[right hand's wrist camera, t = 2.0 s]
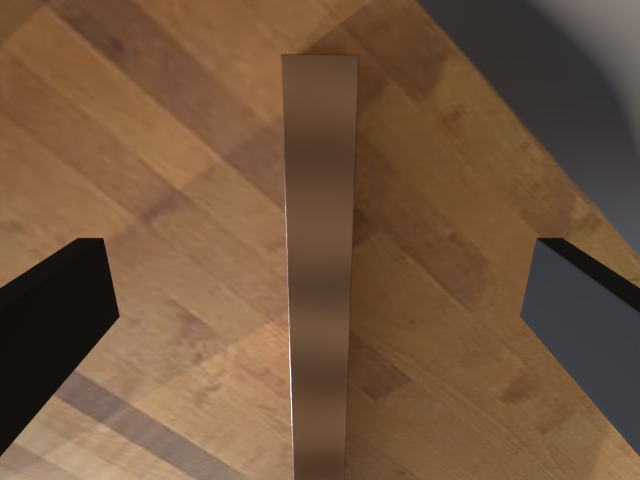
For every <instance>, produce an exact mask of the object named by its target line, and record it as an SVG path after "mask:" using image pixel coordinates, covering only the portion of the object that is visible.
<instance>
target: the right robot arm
mask: <svg viewBox="0 0 640 480" xmlns="http://www.w3.org/2000/svg"><path fill="white" fill-rule="evenodd" d="M119 317H120V316H119V311H118V306H117V302H116V297H115V292H114V287H113V282H112V278H111V273H110V268H109V263H108V259H107V254H106V249H105V244H104V240H103V238H77V239H76V240H74V241H73V242H71V243H69V244H68V245H66V246H65V247H63V248H62V249H60V250H59V251H57V252H56V253H54V254H52V255H51V256H49V257H48V258H46V259H45V260H43V261H42V262H40V263H39V264H37V265H35V266H34V267H32V268H31V269H29V270H28V271H26V272H25V273H23V274H22V275H20V276H18V277H17V278H15V279H14V280H12V281H11V282H9V283H8V284H6V285H5V286H3V287H1V288H0V456H1V455H2V454H3V453H4V452H5V451H6V449H7V448H8V447H9V446H10V445H11V443H12V442H13V441H14V440H15V439H16V438H17V436H18V435H19V434H20V433H21V432H22V431H23V429H24V428H25V427H26V426H27V425H28V424H29V422H30V421H31V420H32V419H33V418H34V416H35V415H36V414H37V413H38V412H39V411H40V409H41V408H42V407H43V406H44V405H45V404H46V402H47V401H48V400H49V399H50V398H51V397H52V395H53V394H54V393H55V392H56V391H57V390H58V388H59V387H60V386H61V385H62V384H63V382H64V381H65V380H66V379H67V378H68V377H69V375H70V374H71V373H72V372H73V371H74V370H75V368H76V367H77V366H78V365H79V364H80V363H81V361H82V360H83V359H84V358H85V357H86V355H87V354H88V353H89V352H90V351H91V350H92V348H93V347H94V346H95V345H96V344H97V343H98V341H99V340H100V339H101V338H102V337H103V336H104V334H105V333H106V332H107V331H108V330H109V328H110V327H111V326H112V325H113V324H114V323H115V321H116V320H117V319H118V318H119ZM520 317H521V318H522V319H523V320H524V321H525V323H526V324H527V325H528V326H529V327H530V328H531V330H532V331H533V332H534V333H535V334H536V336H537V337H538V338H539V339H540V340H541V341H542V343H543V344H544V345H545V346H546V347H547V348H548V350H549V351H550V352H551V353H552V354H553V355H554V357H555V358H556V359H557V360H558V361H559V363H560V364H561V365H562V366H563V367H564V368H565V370H566V371H567V372H568V373H569V374H570V375H571V377H572V378H573V379H574V380H575V381H576V382H577V384H578V385H579V386H580V387H581V388H582V390H583V391H584V392H585V393H586V394H587V395H588V397H589V398H590V399H591V400H592V401H593V402H594V404H595V405H596V406H597V407H598V408H599V409H600V411H601V412H602V413H603V414H604V415H605V416H606V418H607V419H608V420H609V421H610V422H611V424H612V425H613V426H614V427H615V428H616V429H617V431H618V432H619V433H620V434H621V435H622V436H623V438H624V439H625V440H626V441H627V442H628V443H629V445H630V446H631V447H632V448H633V449H634V451H635V452H636V453H637V454H638V455H639V456H640V288H639V287H637V286H635V285H634V284H632V283H631V282H629V281H628V280H626V279H625V278H623V277H622V276H620V275H618V274H617V273H615V272H614V271H612V270H611V269H609V268H608V267H606V266H605V265H603V264H601V263H600V262H598V261H597V260H595V259H594V258H592V257H591V256H589V255H588V254H586V253H584V252H583V251H581V250H580V249H578V248H577V247H575V246H574V245H572V244H571V243H569V242H567V241H566V240H564V239H563V238H537V240H536V244H535V249H534V254H533V259H532V263H531V268H530V273H529V278H528V282H527V287H526V292H525V297H524V302H523V306H522V311H521V316H520Z"/></svg>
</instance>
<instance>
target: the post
mask: <svg viewBox="0 0 640 480" xmlns="http://www.w3.org/2000/svg"><path fill="white" fill-rule="evenodd" d="M358 73H359V55H296V54H282V55H281V81H282V115H283V148H284V181H285V215H286V248H287V281H288V314H289V348H290V381H291V414H292V448H293V480H344V478H345V449H346V420H347V391H348V362H349V333H350V304H351V275H352V246H353V217H354V188H355V159H356V130H357V102H358Z"/></svg>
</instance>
